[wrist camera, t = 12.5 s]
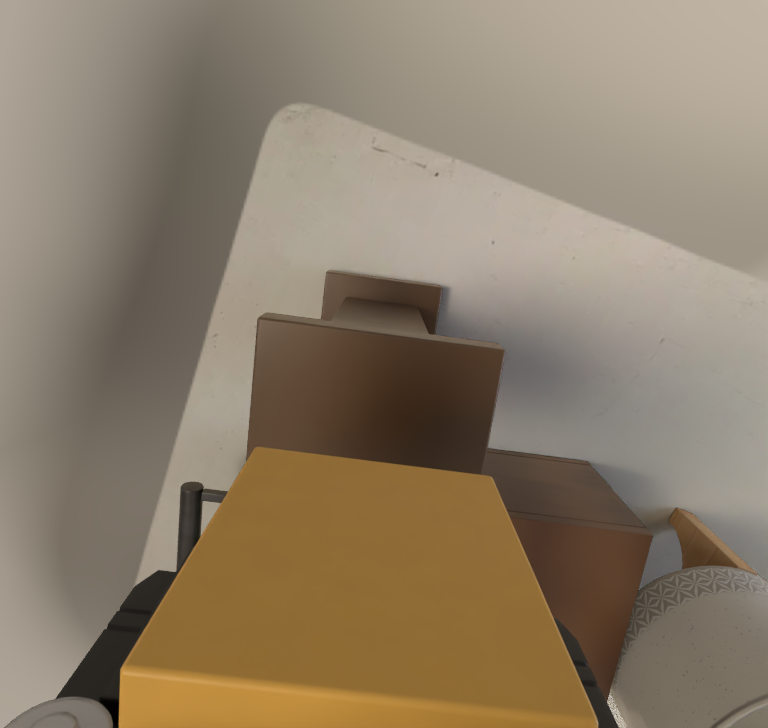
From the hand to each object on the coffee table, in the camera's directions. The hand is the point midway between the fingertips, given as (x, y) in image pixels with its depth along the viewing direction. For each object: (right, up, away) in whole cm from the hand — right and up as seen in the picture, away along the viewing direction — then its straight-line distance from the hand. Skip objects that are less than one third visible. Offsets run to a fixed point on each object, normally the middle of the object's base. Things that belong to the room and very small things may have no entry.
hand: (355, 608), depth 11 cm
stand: (0, +7, +29) cm, 30 cm away
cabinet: (+8, -8, +33) cm, 35 cm away
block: (0, 0, +1) cm, 1 cm away
